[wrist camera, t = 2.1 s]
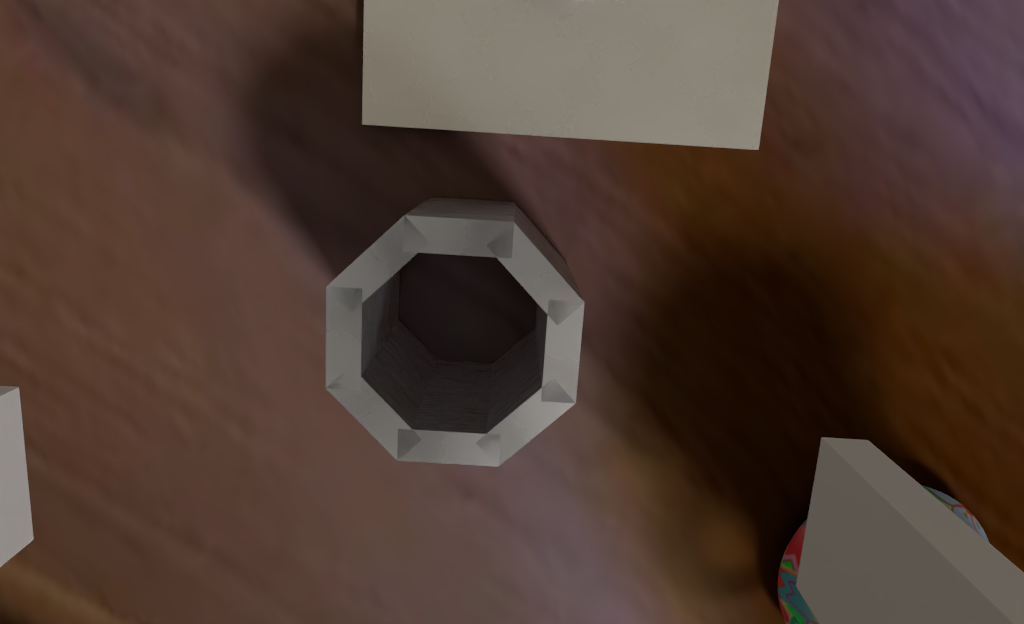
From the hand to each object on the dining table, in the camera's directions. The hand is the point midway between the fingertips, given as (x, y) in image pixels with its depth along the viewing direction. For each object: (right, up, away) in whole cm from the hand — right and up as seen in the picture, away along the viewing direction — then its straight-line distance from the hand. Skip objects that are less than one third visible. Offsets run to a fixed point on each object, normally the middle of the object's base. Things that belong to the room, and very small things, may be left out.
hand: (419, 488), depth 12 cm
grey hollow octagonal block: (0, +4, +15) cm, 16 cm away
